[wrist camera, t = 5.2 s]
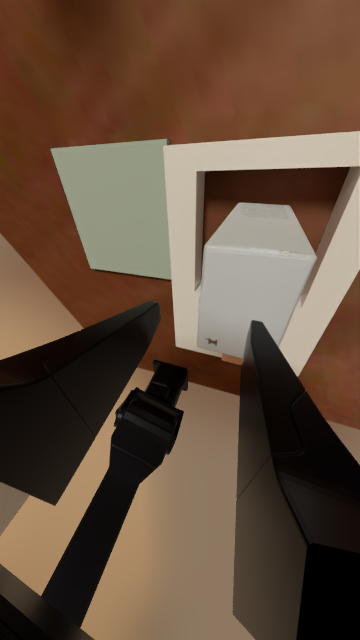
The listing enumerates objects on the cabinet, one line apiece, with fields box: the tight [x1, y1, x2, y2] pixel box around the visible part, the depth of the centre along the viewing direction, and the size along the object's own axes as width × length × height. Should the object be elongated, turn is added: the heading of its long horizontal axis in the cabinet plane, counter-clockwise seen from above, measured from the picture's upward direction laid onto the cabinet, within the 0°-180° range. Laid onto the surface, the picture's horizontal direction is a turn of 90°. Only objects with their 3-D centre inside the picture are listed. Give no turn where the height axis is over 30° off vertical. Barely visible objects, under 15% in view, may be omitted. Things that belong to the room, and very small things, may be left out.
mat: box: [51, 139, 172, 280], centre depth 21 cm, size 12×12×1 cm
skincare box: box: [197, 203, 317, 358], centre depth 13 cm, size 6×4×12 cm
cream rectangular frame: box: [163, 131, 360, 376], centre depth 19 cm, size 20×15×3 cm
